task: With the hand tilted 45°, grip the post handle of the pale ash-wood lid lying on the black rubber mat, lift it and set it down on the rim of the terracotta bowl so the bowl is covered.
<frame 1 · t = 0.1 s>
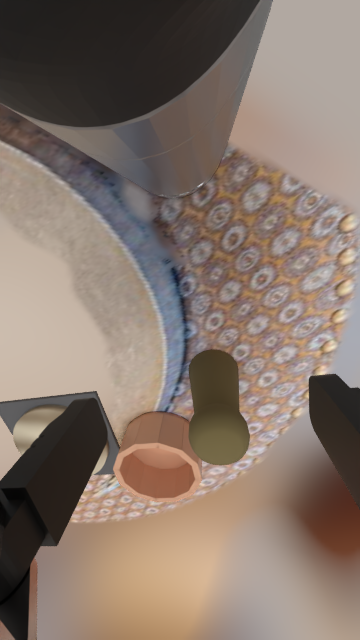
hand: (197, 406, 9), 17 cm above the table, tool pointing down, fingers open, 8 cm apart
lid: (64, 440, 35), resting on mat
olive pawn: (213, 369, 29), on the table
mat: (65, 438, 35), on the table
bowl: (162, 440, 34), on the table
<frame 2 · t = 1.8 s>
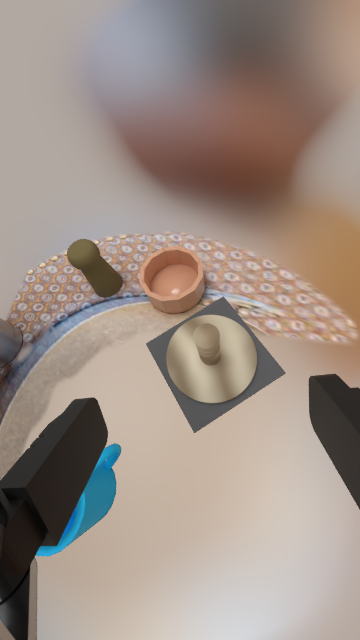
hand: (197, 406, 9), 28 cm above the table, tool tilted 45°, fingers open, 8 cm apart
lid: (210, 357, 37), resting on mat
olive pawn: (108, 284, 47), on the table
mat: (210, 357, 37), on the table
mug: (99, 477, 33), on the table
bowl: (175, 287, 44), on the table
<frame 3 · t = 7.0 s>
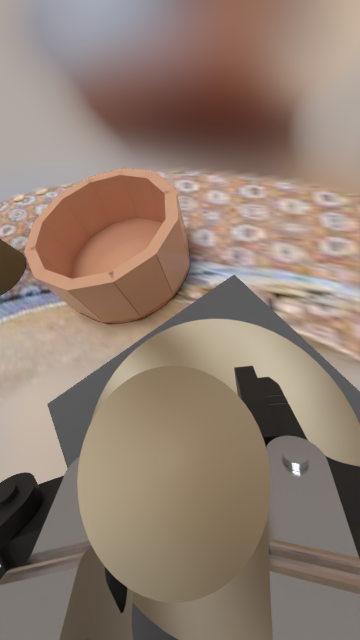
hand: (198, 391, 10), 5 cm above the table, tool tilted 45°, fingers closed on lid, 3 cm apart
lid: (213, 442, 13), resting on mat, touching gripper
olive pawn: (0, 275, 24), on the table
mat: (213, 442, 13), on the table
bowl: (128, 266, 20), on the table
when the fingers open (11 cm above the table, at t = 11.9 s): lid drops 1 cm, resting on bowl.
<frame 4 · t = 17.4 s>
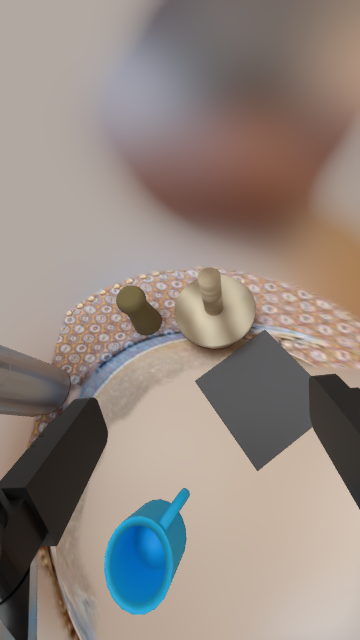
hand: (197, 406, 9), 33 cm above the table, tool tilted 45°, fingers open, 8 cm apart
lid: (214, 310, 41), point 5 cm above the table, touching bowl
olive pawn: (148, 322, 49), on the table
mat: (261, 392, 39), on the table
mug: (167, 521, 34), on the table
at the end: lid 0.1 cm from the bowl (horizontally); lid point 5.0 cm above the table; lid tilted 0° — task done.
